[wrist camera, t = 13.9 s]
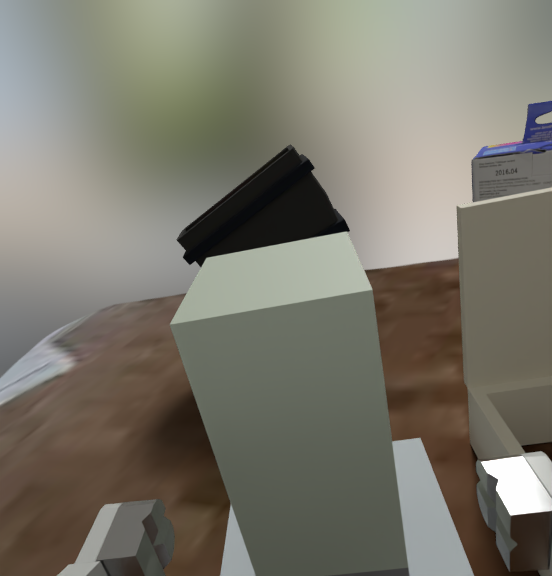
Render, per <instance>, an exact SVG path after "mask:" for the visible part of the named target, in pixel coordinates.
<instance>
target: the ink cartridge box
mask: <svg viewBox="0 0 552 576" xmlns="http://www.w3.org/2000/svg"><path fill="white" fill-rule="evenodd" d="M551 111H552V101H548V102H541V103H534V104H529V105H528V114H527V122H526V128H525V134H524V138H523V141H520V142H513V143H506V144H499V145H492V146H486V147H483V148H482V149H481V150H480V151H479V153H478V154H477V156H475V157H474V158H473V160H472V190H473V202H478V201H483V200H488V199H494V198H499V197H504V196H509V195H515V194H520V193H525V192H530V191H536V190H541V189H546V188H551V187H552V123H547V124H537V123H536V122H535V120H536V118H537V117H539V116H541V115H543V114H546V113H549V112H551Z"/></svg>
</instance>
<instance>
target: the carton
mask: <svg viewBox="0 0 552 576" xmlns="http://www.w3.org/2000/svg"><path fill="white" fill-rule="evenodd" d="M457 227H458V252H459V275H460V299H461V322H462V346H463V369H464V383H465V384H466V386H467V388H468V404H469V430H470V444H471V446H472V448H473V450H474V452H475V453H476V455H477V457H478V459H486V458H493V457H500V456H508V455H515V454H518V455H519V454H524V453H525V451H524V450H523V448H522V447H521V446H523V445H530V444H538V443H546V442H552V187H551V188H546V189H541V190H536V191H530V192H525V193H520V194H515V195H509V196H504V197H499V198H494V199H488V200H483V201H478V202H473V203H467V204H462V205H457ZM549 571H550V569H549V570H538V572H539V574H540V576H552V573H551V572H549Z"/></svg>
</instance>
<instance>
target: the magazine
mask: <svg viewBox="0 0 552 576" xmlns="http://www.w3.org/2000/svg"><path fill="white" fill-rule="evenodd" d="M313 169H314V166H313V165H312V163H311V162H310V160H309V159H308V158H306V157H305V156H304V155H299V154H298V153H297V151H296V150H295V148H294V147H293V146H292V145H289V146H287V147H286V148H285V149H283V150H282V151H281V152H280V153H278V154H277V155H276V156H275V157H273V158H272V159H271V160H270V161H268V162H267V163H266V164H265V165H263V166H262V167H261V168H260V169H258V170H257V171H256V172H255V173H253V174H252V175H251V176H250V177H248V178H247V179H246V180H245V181H244V182H243V183H241V184H240V185H238V186H237V187H236V188H235V189H233V190H232V191H231V192H230V193H228V194H227V195H226V196H225V197H224V198H222V199H221V200H220V201H218V202H217V203H216V204H215V205H214V206H212V207H211V208H210V209H208V210H207V211H206V212H205V213H203V214H202V215H201V216H200V217H199V218H197V219H196V220H195V221H193V222H192V223H191V224H190V225H188V226H187V227H186V228H185V229H184V230H183V231H182V232H181V233H180V235H179V237H178V238H177V241H178V242H179V243H180V244H181V245H182V247H184V249H185V250H186V252H185V254H184V256H183V258H184V259H185V260H186V261H187V263H188V264H192V263H193V262H194V261H196V262H197V263H198V264H199V266H200V267H202V265H203V263H204V262H205V260H206V258H209V257H214V256H219V255H225V254H230V253H235V252H240V251H246V250H251V249H256V248H262V247H267V246H272V245H278V244H283V243H288V242H293V241H299V240H304V239H309V238H315V237H320V236H325V235H331V234H336V233H341V232H346V231H347V232H349V231H350V230H349V228H348V226H347V224H346V222H345V220H344V218H343V217H342V216H341V215H340V214H339V213H338V211H337V210H336V209H333V207H332V204H331V202H330V200H329V198H328V196H327V194H326V192H325V191H324V189H323V188H322V187H321V185H320V184H319V182H318V181H317V179H316V178H315V177H314V176H313V174H312V172H311V171H312V170H313Z"/></svg>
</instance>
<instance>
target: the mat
mask: <svg viewBox="0 0 552 576" xmlns="http://www.w3.org/2000/svg"><path fill="white" fill-rule="evenodd" d="M392 445H393V453H394V460H395V468H396V476H397V483H398V491H399V499H400V507H401V514H402V522H403V530H404V537H405V545H406V553H407V561H408V568H409V576H474V575H473V572H472V569H471V567H470V564H469V562H468V559H467V557H466V554H465V552H464V549H463V546H462V544H461V541H460V539H459V536H458V534H457V531H456V528H455V526H454V523H453V521H452V518H451V516H450V513H449V510H448V508H447V505H446V503H445V500H444V498H443V495H442V492H441V490H440V487H439V485H438V482H437V480H436V477H435V474H434V472H433V469H432V467H431V464H430V462H429V459H428V456H427V454H426V451H425V449H424V446H423V444H422V441H421V439H420V438H416V439H408V440H401V441H393V442H392ZM220 576H256V575H255V572H254V569H253V567H252V564H251V561H250V558H249V555H248V552H247V549H246V546H245V543H244V540H243V537H242V534H241V531H240V528H239V526H238V523H237V520H236V517H235V514H234V511H233V508H232V505H231V507H230V514H229V521H228V527H227V534H226V541H225V548H224V554H223V561H222V568H221V575H220Z"/></svg>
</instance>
